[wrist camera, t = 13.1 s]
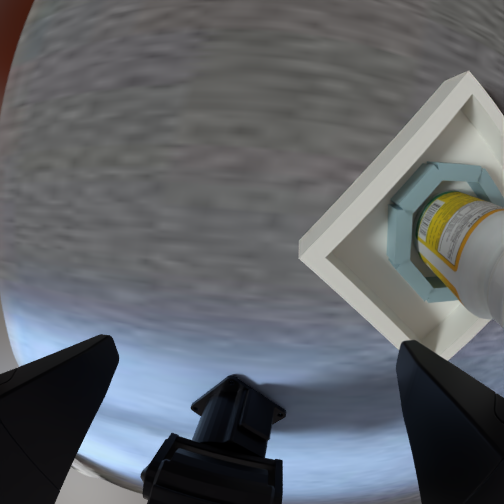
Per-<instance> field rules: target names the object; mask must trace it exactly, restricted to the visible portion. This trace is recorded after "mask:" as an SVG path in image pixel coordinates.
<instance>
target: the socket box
mask: <svg viewBox="0 0 504 504" xmlns="http://www.w3.org/2000/svg"><path fill="white" fill-rule="evenodd" d="M446 190H454V191H459V192H462V193H465V194H468V195H470V196H473V197H476V198H479V199H481V200H484V201H487V202H490V203H493V204H495V205H498V206H501V207H503V208H504V116H503V114H502V113H501V111H500V110H499V109H498V107H497V106H496V104H495V103H494V102H493V100H492V99H491V98H490V96H489V95H488V94H487V92H486V91H485V90H484V88H483V87H482V86H481V85H480V83H479V82H478V81H477V80H476V79H475V77H474V76H473V75H472V74H471V73H470V71H467V72H464V73H462V74H460V75H457V76H455V77H453V78H450V79H448V80H446V81H444V82H443V83H442V84H441V86H440V87H439V88H438V89H437V90H436V91H435V93H434V94H433V95H432V96H431V97H430V98H429V99H428V101H427V102H426V103H425V104H424V105H423V106H422V107H421V109H420V110H419V111H418V112H417V113H416V114H415V115H414V116H413V118H412V119H411V120H410V121H409V122H408V123H407V124H406V125H405V127H404V128H403V129H402V130H401V131H400V132H399V133H398V134H397V135H396V137H395V138H394V139H393V140H392V141H391V142H390V143H389V144H388V145H387V147H386V148H385V149H384V150H383V151H382V152H381V153H380V154H379V155H378V156H377V158H376V159H375V160H374V161H373V162H372V163H371V164H370V165H369V166H368V167H367V168H366V170H365V171H364V172H363V173H362V174H361V175H360V176H359V177H358V178H357V179H356V180H355V181H354V183H353V184H352V185H351V186H350V187H349V188H348V189H347V190H346V191H345V192H344V193H343V194H342V195H341V197H340V198H339V199H338V200H337V201H336V202H335V203H334V204H333V205H332V206H331V207H330V208H329V209H328V210H327V211H326V212H325V214H324V215H323V216H322V217H321V218H320V219H319V220H318V221H317V222H316V223H315V224H314V225H313V226H312V227H311V228H310V229H309V230H308V231H307V232H306V234H305V235H304V236H303V237H302V238H301V239H300V240H299V259H300V260H301V261H302V262H303V263H304V264H306V265H307V266H308V267H309V268H310V269H311V270H312V271H313V272H315V273H316V274H317V275H318V276H319V277H320V278H321V279H322V280H323V281H325V282H326V283H327V284H328V285H329V286H330V287H331V288H332V289H333V290H335V291H336V292H337V293H338V294H339V295H340V296H341V297H342V298H343V299H344V300H346V301H347V302H348V303H349V304H350V305H351V306H352V307H353V308H354V309H355V310H356V311H358V312H359V313H360V314H361V315H362V316H363V317H364V318H365V319H366V320H367V321H368V322H369V323H371V324H372V325H373V326H374V327H375V328H376V329H377V330H378V331H379V332H380V333H381V334H382V335H383V336H385V337H386V338H387V339H388V340H389V341H390V342H391V343H392V344H393V345H394V346H395V347H396V348H397V349H398V350H399V349H400V345H401V343H402V342H403V341H406V340H416V341H418V342H419V343H421V344H422V345H424V346H426V347H427V348H429V349H430V350H432V351H433V352H435V353H436V354H438V355H439V356H441V357H442V358H444V359H446V360H447V361H448V360H449V359H450V358H451V357H452V356H454V355H455V354H456V353H457V352H458V351H459V350H460V349H461V348H462V347H464V346H465V345H466V344H467V343H468V342H469V341H470V340H471V339H472V338H473V337H474V336H475V335H476V334H477V333H478V332H479V331H480V330H481V329H482V328H483V327H484V326H485V325H486V324H487V323H488V322H489V321H490V320H491V319H483V318H479V317H477V316H475V315H473V314H472V313H471V312H469V311H468V310H467V309H466V308H465V307H464V306H463V305H462V304H461V302H460V301H459V300H458V299H457V297H456V296H455V295H454V294H453V293H452V292H451V291H450V289H449V288H448V287H447V286H446V285H445V284H444V283H443V282H442V281H441V280H440V279H439V277H438V276H437V275H436V274H435V273H434V272H433V271H432V270H431V269H430V268H429V267H428V266H427V265H426V264H425V263H424V262H423V261H422V259H421V258H420V257H419V255H418V253H417V251H416V248H415V245H414V238H413V230H414V223H415V220H416V217H417V214H418V212H419V210H420V209H421V207H422V206H423V204H424V203H425V202H426V201H427V200H428V199H429V198H430V197H432V196H433V195H435V194H436V193H439V192H442V191H446Z"/></svg>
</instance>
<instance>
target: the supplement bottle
mask: <svg viewBox="0 0 504 504" xmlns="http://www.w3.org/2000/svg"><path fill="white" fill-rule="evenodd" d="M413 238H414V245H415V248H416V251H417V253H418V255H419V257H420V258H421V259H422V261H423V262H424V263H425V264H426V265H427V266H428V267H429V268H430V269H431V270H432V271H433V272H434V273H435V274H436V275H437V276H438V277H439V279H440V280H441V281H442V282H443V283H444V284H445V285H446V286H447V287H448V288H449V289H450V291H451V292H452V293H453V294H454V295H455V296H456V297H457V299H458V300H459V301H460V302H461V304H462V305H463V306H464V307H465V308H466V309H467V310H468V311H469V312H471V313H472V314H473V315H475V316H477V317H479V318H483V319H494V320H495V321H496V322H497V323H498V324H499V325H500V326H501V327H502V328H503V329H504V208H503V207H501V206H498V205H495V204H493V203H490V202H487V201H484V200H481V199H479V198H476V197H473V196H470V195H468V194H465V193H462V192H459V191H454V190H446V191H442V192H439V193H436V194H435V195H433V196H432V197H430V198H429V199H428V200H427V201H426V202H425V203H424V204H423V206H422V207H421V209H420V210H419V212H418V214H417V217H416V220H415V223H414V230H413Z"/></svg>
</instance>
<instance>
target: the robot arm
mask: <svg viewBox="0 0 504 504" xmlns="http://www.w3.org/2000/svg"><path fill="white" fill-rule="evenodd" d="M118 363H119V354H118V351H117V349H116V346H115V343H114V340H113V338H112V337H111V336H110V335H103V334H101V335H98V336H95V337H93V338H90V339H88V340H85V341H83V342H80V343H78V344H75V345H73V346H71V347H68V348H66V349H63V350H61V351H58V352H56V353H53V354H51V355H48V356H46V357H43V358H41V359H38V360H36V361H33V362H30V363H28V364H25V365H23V366H20V367H18V368H15V369H13V370H10V371H7V372H5V373H2V374H0V504H55V502H56V499H57V497H58V494H59V492H60V489H61V487H62V485H63V483H64V480H65V478H66V476H67V474H68V472H69V469H70V467H71V465H72V463H73V461H74V458H75V456H76V454H77V452H78V450H79V448H80V446H81V444H82V442H83V440H84V437H85V435H86V433H87V431H88V429H89V427H90V425H91V423H92V421H93V419H94V417H95V415H96V413H97V411H98V409H99V407H100V405H101V403H102V401H103V399H104V397H105V395H106V393H107V390H108V388H109V385H110V383H111V380H112V378H113V375H114V373H115V370H116V368H117V365H118ZM396 372H397V379H398V385H399V391H400V398H401V406H402V412H403V417H404V421H405V425H406V429H407V433H408V438H409V442H410V446H411V451H412V455H413V460H414V465H415V469H416V474H417V480H418V485H419V491H420V496H421V502H422V504H504V398H503V397H502V396H500V395H499V394H495V392H494V391H493V390H491V389H490V388H488V387H487V386H485V385H484V384H482V383H481V382H479V381H478V380H476V379H475V378H473V377H471V376H470V375H468V374H467V373H465V372H464V371H462V370H461V369H459V368H458V367H456V366H455V365H453V364H452V363H450V362H449V361H447V360H446V359H444V358H442V357H441V356H439V355H438V354H436V353H435V352H433V351H432V350H430V349H429V348H427V347H426V346H424V345H422V344H421V343H419V342H418V341H416V340H406V341H403V342H402V343H401V345H400V349H399V354H398V359H397V363H396ZM231 381H233V382H231ZM191 410H193V411H194V412H195V413H197V414H198V415H200V416H201V418H200V421H199V423H198V426H197V428H196V431H195V434H194V436H193V439H192V440H190V439H186V438H183V437H180V436H179V435H177V434H174V433H171V435H170V436H169V438H168V439H166V440H165V441H164V443H163V444H162V446H161V447H160V449H159V450H158V452H157V453H156V455H155V456H154V458H153V460H152V461H151V463H150V464H149V465H148V466H147V467H146V468H145V469H144V470H143V471H142V473H141V479H142V481H143V482H144V484H143V498H144V499H147V500H148V503H147V504H282V495H283V460H279V459H275V460H273V459H268V458H265V455H266V449H267V442H268V440H269V439H270V434H271V428H272V425H273V424H274V423H276V422H278V421H280V420H281V419H283V418H284V417H286V410H284V409H283V408H281V407H280V406H278V405H277V404H275V403H274V402H272V401H271V400H269V399H268V398H266V397H264V396H263V395H262V394H260V393H259V392H257V391H256V390H254V389H253V388H251V387H250V386H248V385H247V384H245V383H244V382H243V381H241V380H240V379H238V378H237V377H235V376H232V375H230V376H227V377H226V378H225V379H224V380H222V381H221V382H220V383H219V384H217V385H216V386H215V387H213V388H212V389H211V390H209V391H208V392H207V393H206V394H204V395H203V396H202V397H200V398H199V399H198V400H196V401H195V402H194V403H192V405H191ZM279 413H281V414H279Z"/></svg>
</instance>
